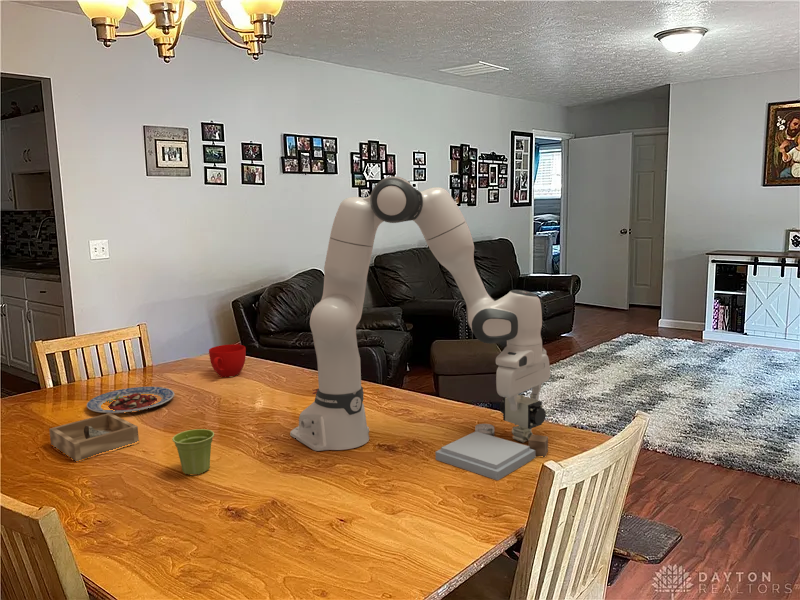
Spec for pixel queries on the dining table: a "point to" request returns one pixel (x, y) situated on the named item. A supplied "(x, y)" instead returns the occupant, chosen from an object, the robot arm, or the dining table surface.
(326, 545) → the dining table surface
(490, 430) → the grey metal bushing
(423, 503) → the dining table surface
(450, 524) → the dining table surface
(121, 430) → the rock tray
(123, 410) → the ceramic plate
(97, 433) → the rock sample
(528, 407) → the pneumatic valve
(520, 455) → the stand
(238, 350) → the ceramic cup
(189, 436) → the plant pot
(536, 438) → the walnut block
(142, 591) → the dining table surface
